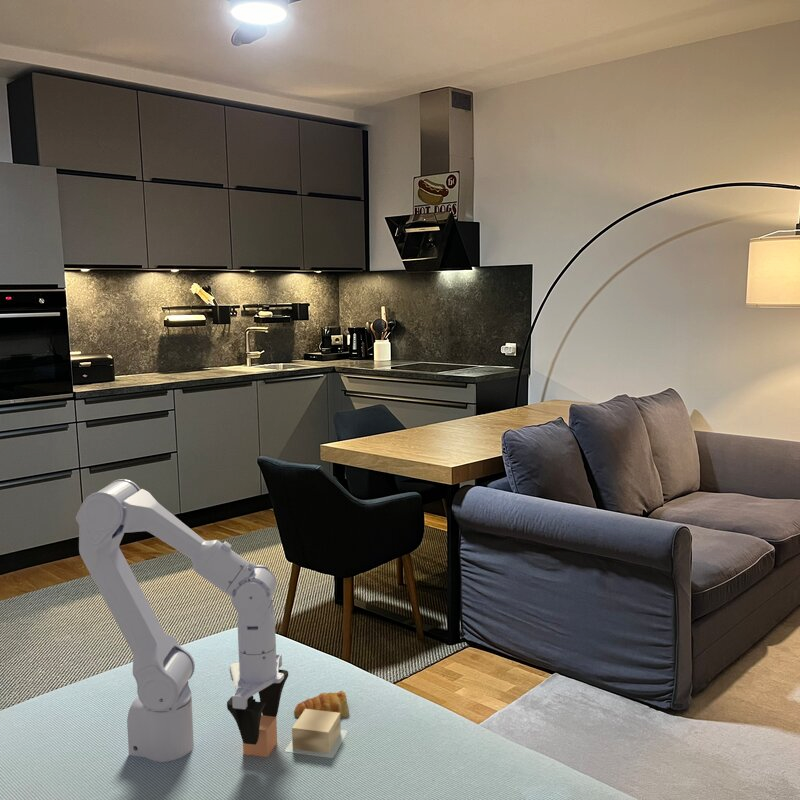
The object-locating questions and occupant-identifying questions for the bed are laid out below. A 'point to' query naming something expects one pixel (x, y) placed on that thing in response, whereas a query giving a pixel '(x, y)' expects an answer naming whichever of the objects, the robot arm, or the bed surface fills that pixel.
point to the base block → (316, 731)
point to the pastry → (325, 704)
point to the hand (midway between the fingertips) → (260, 729)
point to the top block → (263, 738)
